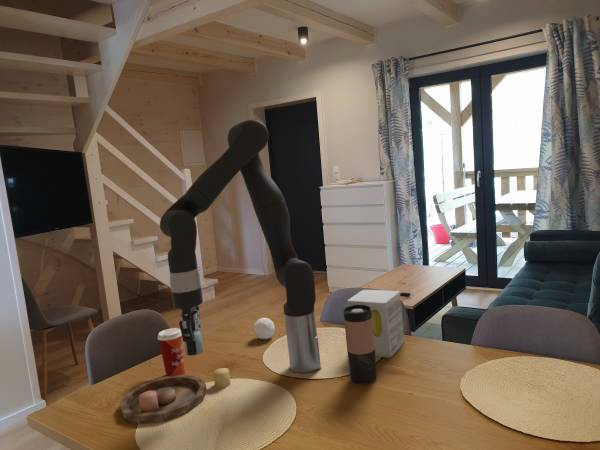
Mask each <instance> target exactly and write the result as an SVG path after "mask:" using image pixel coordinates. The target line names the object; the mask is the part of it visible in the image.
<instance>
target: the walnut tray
mask: <svg viewBox="0 0 600 450" xmlns="http://www.w3.org/2000/svg"><path fill="white" fill-rule="evenodd" d="M146 391H156V393H157V400H158V406H159V411H157V412H148V413H141V409H140V402H139V395H140V394H142V393H144V392H146ZM207 391H208V390H207V384H206V382H205V381H203V380H202V378H201V377H199V376H195V375H190V374H183V375H177V376H168V377H167V376H163V377H159V378H156V379H154V380H151V381H147V382H145V383H144V382H143V383H142V384H140V385H139V386H137V387H135V388H133V389H132V390H130V391H129V392H127V393H126V394H125V395H124V397H123V398H122V399H121V401H120V402H119V407H120V408H119V409H120V412H121V415H122V417H123V419H124V420H125V421H127V422H131V423H135V424H139V425H144V424H154V423H155V424H156V423H162V422H166V421H170V420H172V419H175V418H178V417H180V416H182V415H186V414H188V413H189V412H191V411H192V410H193V409H195V408H197V406H199V405H200V404H202V403H203V401H204V400H205V397H206V395H207Z"/></svg>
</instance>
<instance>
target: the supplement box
mask: <svg viewBox="0 0 600 450" xmlns="http://www.w3.org/2000/svg"><path fill="white" fill-rule="evenodd" d="M354 305H366V306H369V307H370V308H371V315H372V325H373V335H374V344H375V357H379V358H380V357H382V358H387V359H388V358H389V359H391V358H393V356H394V355H395V354H396V353H397V352H398V350H399V349H400V348H401V347H402V346H403V345H404V343H405V336H404V334H405V333H404V323H403V313H402V301H401V291H399V290H383V289H362V290H361V291H359V292H358V293H355V295H353V296H352V297H351V298H349V299H347V307H349V306H354Z"/></svg>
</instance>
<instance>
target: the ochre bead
mask: <svg viewBox="0 0 600 450" xmlns="http://www.w3.org/2000/svg"><path fill="white" fill-rule="evenodd" d="M229 369H230V368H227V367H220V368H217V369H214V370H213V380H214V387H215V388H216V389H225V388H227V387H229V386H230V385H231V375H230V371H229Z"/></svg>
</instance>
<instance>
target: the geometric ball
mask: <svg viewBox="0 0 600 450" xmlns="http://www.w3.org/2000/svg"><path fill="white" fill-rule="evenodd" d="M252 330H253V334H254V335H255V337H256V338H258V339H259V340H263V341H265V340H268V339H271V338H272V337H273V335H274V333H275V323H274V322H273V321H272V319H270V318H269V317H268V318H267V317H261V318H259V319H258V320H256V321H255V322H254V325H253V328H252Z"/></svg>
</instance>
